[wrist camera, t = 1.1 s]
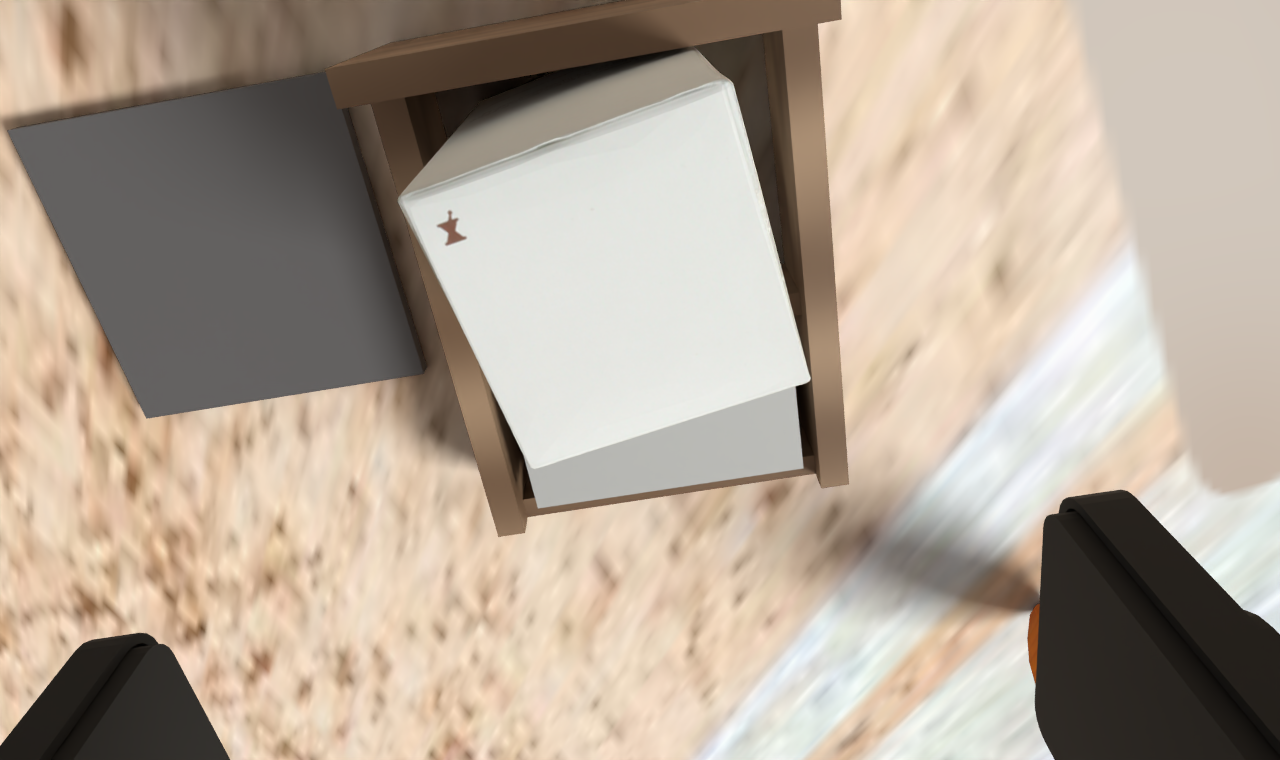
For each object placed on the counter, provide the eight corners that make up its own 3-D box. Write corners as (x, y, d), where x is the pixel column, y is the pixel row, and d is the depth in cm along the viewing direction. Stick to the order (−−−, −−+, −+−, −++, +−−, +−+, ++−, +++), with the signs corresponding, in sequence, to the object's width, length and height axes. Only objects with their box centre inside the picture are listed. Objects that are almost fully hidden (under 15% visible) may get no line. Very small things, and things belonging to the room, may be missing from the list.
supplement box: (554, 294, 32) (519, 481, 21) (474, 97, 29) (382, 190, 18) (745, 231, 31) (818, 391, 20) (684, 21, 28) (730, 68, 17)
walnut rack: (390, 42, 28) (324, 68, 22) (788, -30, 27) (839, -25, 21) (510, 477, 36) (487, 590, 29) (825, 429, 35) (870, 534, 29)
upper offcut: (519, 381, 31) (512, 412, 29) (781, 338, 31) (793, 367, 29) (543, 472, 33) (538, 508, 31) (791, 434, 33) (803, 468, 30)
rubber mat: (18, 127, 29) (6, 130, 28) (335, 69, 28) (330, 72, 28) (153, 411, 34) (146, 418, 33) (426, 367, 33) (423, 373, 33)
